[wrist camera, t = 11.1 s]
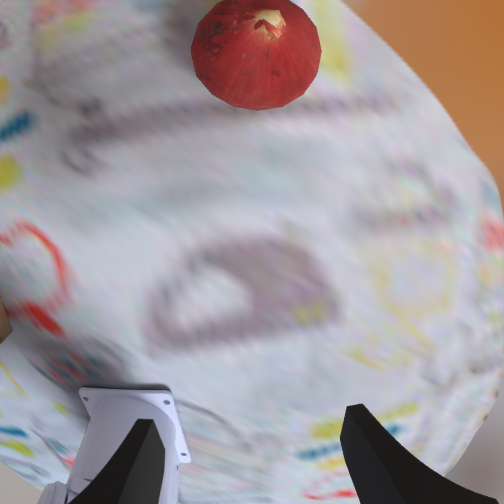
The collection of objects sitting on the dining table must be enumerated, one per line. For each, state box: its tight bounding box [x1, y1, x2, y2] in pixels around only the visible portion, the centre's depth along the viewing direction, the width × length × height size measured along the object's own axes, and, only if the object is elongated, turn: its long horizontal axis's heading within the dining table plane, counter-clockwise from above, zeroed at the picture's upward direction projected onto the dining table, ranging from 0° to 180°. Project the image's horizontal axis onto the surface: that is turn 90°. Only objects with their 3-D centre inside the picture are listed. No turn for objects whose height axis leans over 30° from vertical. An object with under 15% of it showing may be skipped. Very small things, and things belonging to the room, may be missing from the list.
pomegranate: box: [191, 0, 322, 110], centre depth 12 cm, size 6×6×8 cm
